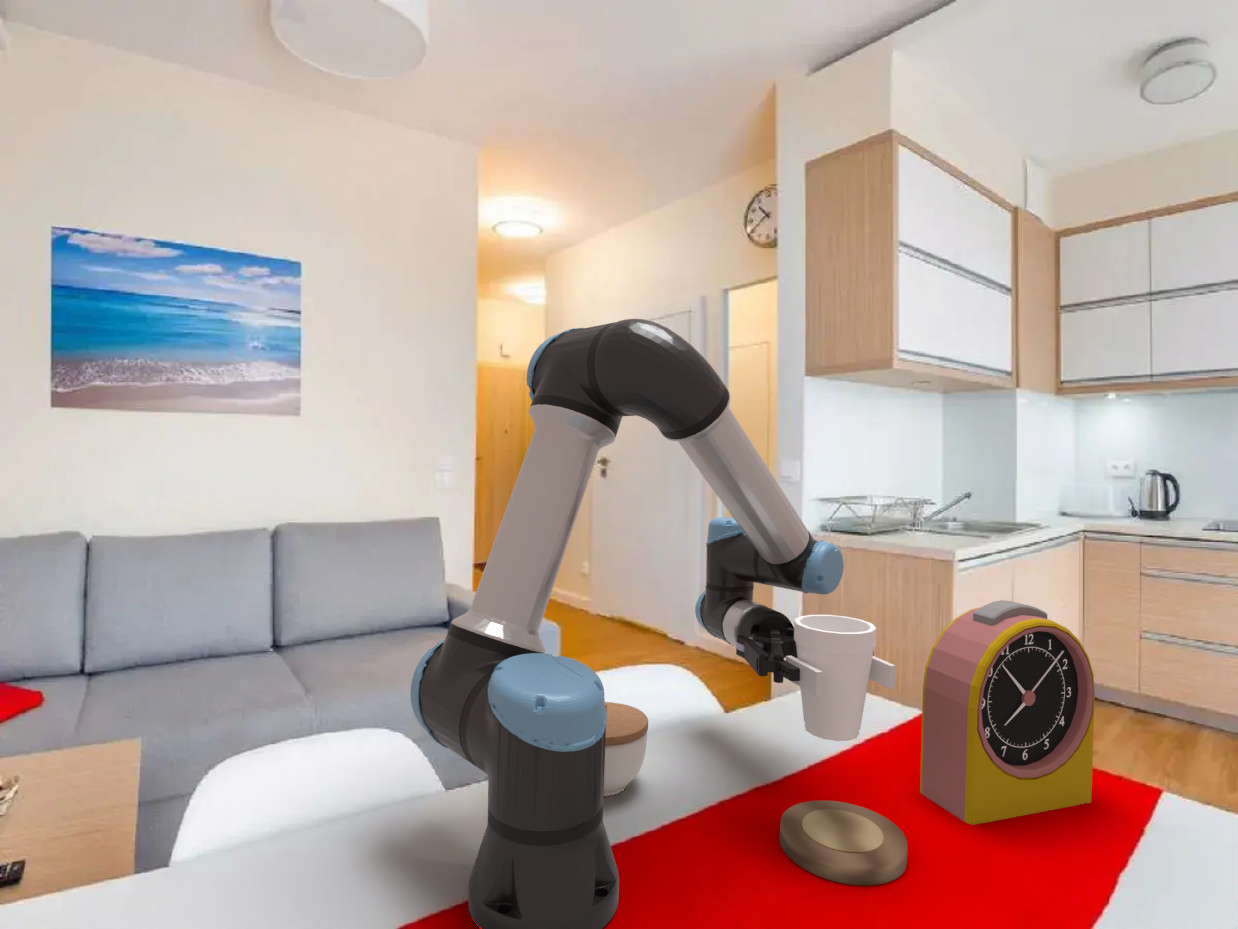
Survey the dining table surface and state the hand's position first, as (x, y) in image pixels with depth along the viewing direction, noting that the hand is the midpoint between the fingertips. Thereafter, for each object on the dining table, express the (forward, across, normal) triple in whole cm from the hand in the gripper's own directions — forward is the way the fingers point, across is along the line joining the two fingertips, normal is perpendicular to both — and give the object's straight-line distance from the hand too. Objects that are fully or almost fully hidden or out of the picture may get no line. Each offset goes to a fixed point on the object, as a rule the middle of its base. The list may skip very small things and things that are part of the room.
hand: (856, 680), depth 80 cm
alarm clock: (-5, -28, -20) cm, 35 cm away
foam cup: (-4, 0, -8) cm, 9 cm away
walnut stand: (-1, +1, -20) cm, 20 cm away
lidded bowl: (-23, +23, -20) cm, 39 cm away
